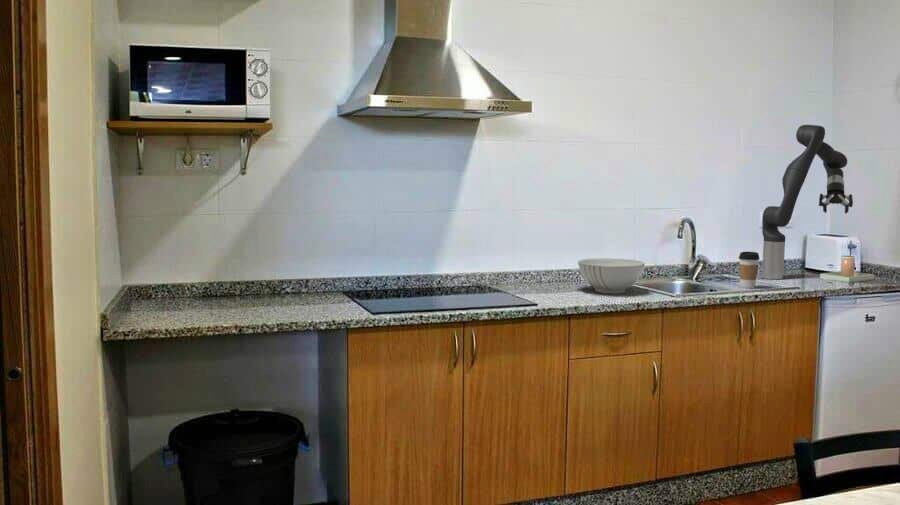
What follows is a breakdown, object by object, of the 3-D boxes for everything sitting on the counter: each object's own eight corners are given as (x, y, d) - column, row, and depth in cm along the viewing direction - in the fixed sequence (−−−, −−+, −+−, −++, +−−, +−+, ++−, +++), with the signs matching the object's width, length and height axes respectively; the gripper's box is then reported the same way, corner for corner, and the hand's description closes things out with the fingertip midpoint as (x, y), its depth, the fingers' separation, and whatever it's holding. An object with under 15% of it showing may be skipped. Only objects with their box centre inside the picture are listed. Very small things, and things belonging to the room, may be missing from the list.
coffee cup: (759, 287, 333) (761, 252, 332) (755, 289, 326) (757, 254, 324) (739, 285, 338) (741, 251, 336) (735, 287, 330) (736, 252, 329)
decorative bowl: (578, 295, 308) (578, 265, 306) (576, 285, 334) (577, 257, 333) (647, 297, 304) (648, 266, 303) (640, 287, 330) (641, 258, 329)
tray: (848, 283, 347) (849, 277, 347) (819, 279, 359) (820, 273, 359) (873, 279, 358) (874, 274, 357) (844, 276, 369) (845, 270, 369)
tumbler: (841, 278, 357) (842, 257, 355) (839, 276, 362) (840, 255, 361) (854, 279, 355) (855, 257, 353) (853, 277, 360) (854, 255, 359)
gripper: (819, 181, 372) (819, 206, 362) (853, 181, 366) (853, 207, 357) (818, 191, 377) (818, 216, 368) (851, 192, 372) (851, 217, 363)
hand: (835, 211), depth 363 cm, fingers open, 8 cm apart
